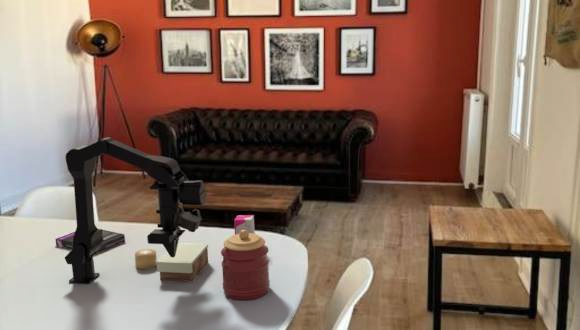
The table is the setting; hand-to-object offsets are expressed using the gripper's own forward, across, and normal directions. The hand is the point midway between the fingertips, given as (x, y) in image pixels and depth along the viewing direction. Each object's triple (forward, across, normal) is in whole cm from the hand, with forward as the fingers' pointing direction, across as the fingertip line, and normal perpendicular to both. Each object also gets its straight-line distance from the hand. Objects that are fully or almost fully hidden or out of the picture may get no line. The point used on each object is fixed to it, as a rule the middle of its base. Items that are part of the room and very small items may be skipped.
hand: (173, 256), depth 156 cm
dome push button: (+8, +12, +14) cm, 20 cm away
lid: (+5, +8, 0) cm, 10 cm away
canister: (+8, -2, -22) cm, 23 cm away
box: (+9, +28, +42) cm, 52 cm away
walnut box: (+8, +9, 0) cm, 12 cm away
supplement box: (+8, +28, -14) cm, 32 cm away
